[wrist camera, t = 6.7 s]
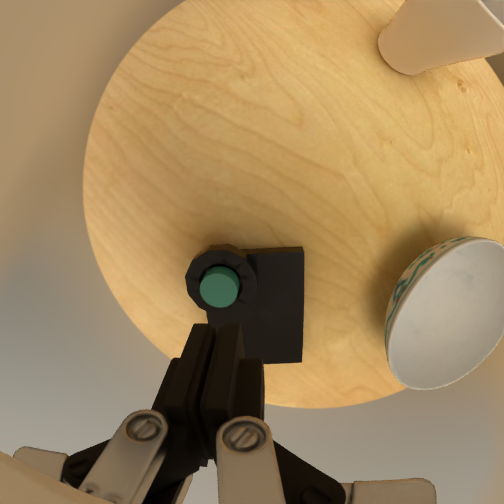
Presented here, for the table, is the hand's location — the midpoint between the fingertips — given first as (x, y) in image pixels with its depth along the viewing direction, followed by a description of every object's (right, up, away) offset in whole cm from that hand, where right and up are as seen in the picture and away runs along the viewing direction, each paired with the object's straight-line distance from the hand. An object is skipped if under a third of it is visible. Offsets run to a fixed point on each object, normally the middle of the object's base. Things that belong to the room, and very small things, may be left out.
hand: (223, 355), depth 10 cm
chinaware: (+19, 0, +16) cm, 25 cm away
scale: (+1, -2, +17) cm, 17 cm away
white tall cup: (+15, +22, +9) cm, 28 cm away
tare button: (-2, +1, +14) cm, 14 cm away
